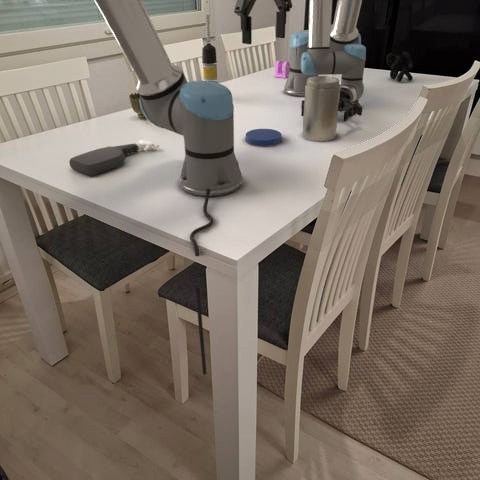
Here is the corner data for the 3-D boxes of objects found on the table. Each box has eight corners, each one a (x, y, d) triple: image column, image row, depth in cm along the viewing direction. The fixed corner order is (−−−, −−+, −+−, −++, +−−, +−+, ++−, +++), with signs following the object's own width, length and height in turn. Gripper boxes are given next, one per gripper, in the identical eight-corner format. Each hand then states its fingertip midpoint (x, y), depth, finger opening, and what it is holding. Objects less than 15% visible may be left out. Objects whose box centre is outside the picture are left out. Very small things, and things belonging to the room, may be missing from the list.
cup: (127, 118, 157) (124, 95, 153) (141, 113, 163) (138, 90, 159) (144, 121, 154) (141, 97, 150) (157, 115, 160) (154, 92, 156)
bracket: (285, 77, 208) (285, 62, 204) (275, 76, 211) (275, 60, 207) (299, 72, 216) (300, 57, 213) (289, 71, 219) (290, 56, 216)
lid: (281, 134, 141) (281, 128, 140) (280, 146, 131) (280, 140, 131) (247, 133, 142) (247, 128, 141) (244, 145, 133) (243, 139, 132)
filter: (220, 99, 177) (217, 15, 161) (206, 100, 176) (202, 16, 160) (215, 96, 182) (212, 14, 166) (202, 97, 180) (197, 14, 164)
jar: (295, 135, 140) (298, 79, 131) (317, 128, 145) (321, 74, 136) (320, 143, 133) (325, 85, 124) (342, 136, 139) (348, 79, 130)
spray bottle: (67, 168, 120) (139, 144, 136) (91, 178, 114) (163, 151, 130) (65, 157, 118) (137, 134, 134) (89, 167, 112) (162, 142, 128)
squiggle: (400, 92, 202) (376, 71, 205) (417, 76, 202) (392, 56, 205) (405, 81, 191) (380, 59, 194) (423, 64, 191) (397, 42, 194)
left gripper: (240, -54, 101) (241, 47, 112) (308, -53, 116) (303, 36, 127) (217, -53, 105) (221, 44, 116) (285, -52, 120) (283, 34, 131)
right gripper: (377, 113, 151) (361, 131, 135) (308, 105, 161) (285, 121, 145) (381, 90, 147) (365, 106, 131) (309, 83, 157) (286, 97, 141)
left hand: (264, 40), depth 122 cm, fingers open, 13 cm apart
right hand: (323, 114), depth 138 cm, fingers open, 13 cm apart
